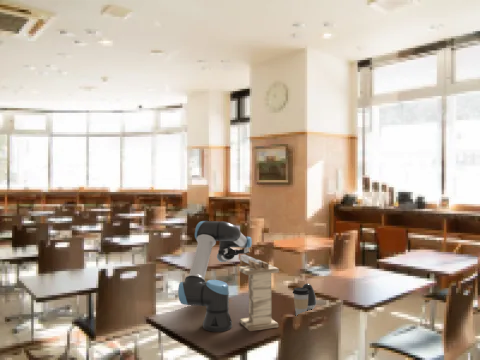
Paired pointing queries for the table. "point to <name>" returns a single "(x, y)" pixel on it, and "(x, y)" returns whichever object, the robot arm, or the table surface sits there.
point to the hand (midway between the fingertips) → (237, 249)
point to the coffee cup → (300, 299)
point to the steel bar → (247, 258)
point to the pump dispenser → (310, 297)
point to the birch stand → (259, 296)
